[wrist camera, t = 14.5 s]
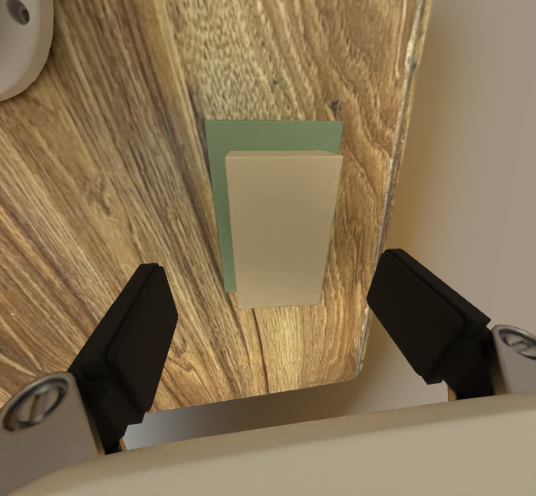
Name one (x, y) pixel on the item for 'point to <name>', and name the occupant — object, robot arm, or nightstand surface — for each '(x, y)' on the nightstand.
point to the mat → (256, 139)
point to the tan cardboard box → (281, 223)
